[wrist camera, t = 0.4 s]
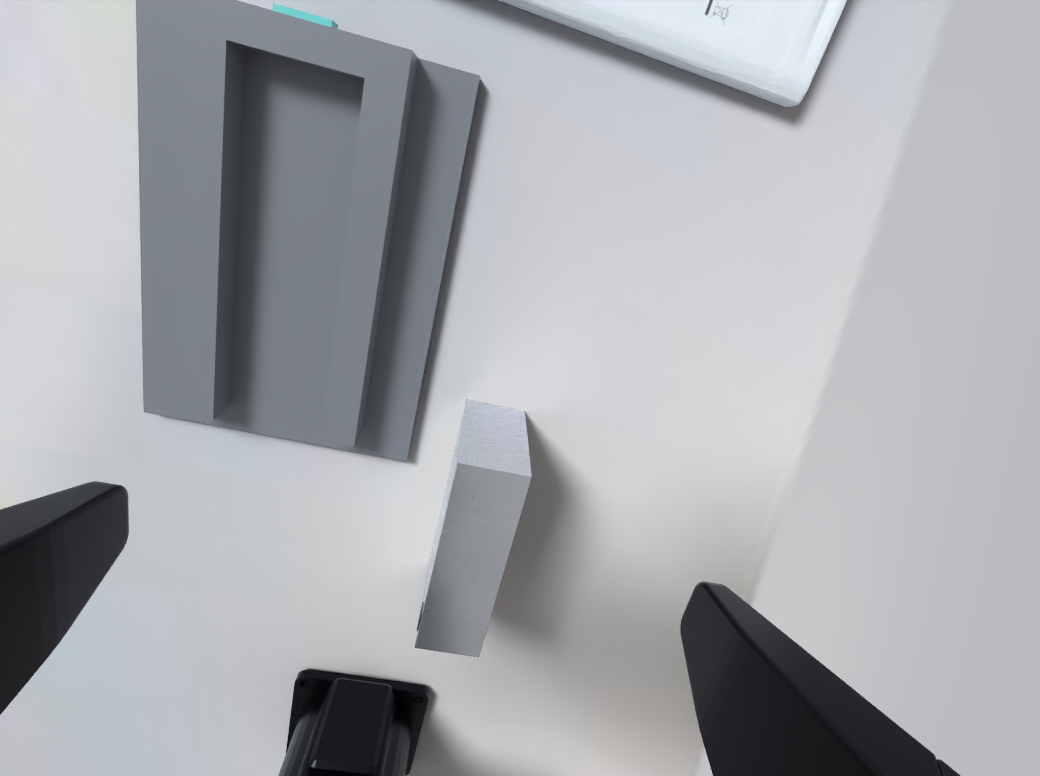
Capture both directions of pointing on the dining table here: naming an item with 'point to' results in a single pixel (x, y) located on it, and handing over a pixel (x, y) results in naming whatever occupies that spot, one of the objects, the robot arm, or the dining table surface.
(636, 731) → the dining table surface
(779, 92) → the external hard drive
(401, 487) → the dining table surface
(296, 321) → the dock
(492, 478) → the block
